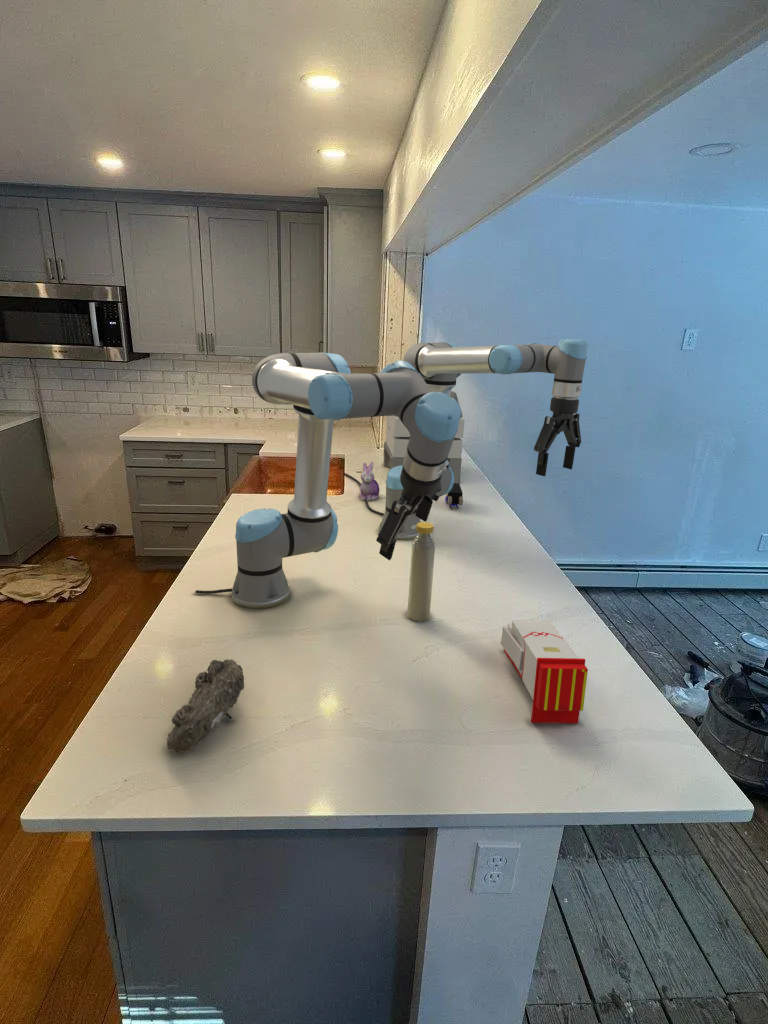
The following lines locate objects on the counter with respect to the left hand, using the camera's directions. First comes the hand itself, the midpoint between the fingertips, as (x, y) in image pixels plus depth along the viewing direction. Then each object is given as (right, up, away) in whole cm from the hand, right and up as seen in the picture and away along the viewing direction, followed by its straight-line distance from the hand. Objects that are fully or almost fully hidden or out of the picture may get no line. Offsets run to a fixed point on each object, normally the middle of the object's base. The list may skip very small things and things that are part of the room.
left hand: (403, 536), depth 121 cm
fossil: (-37, -34, -13) cm, 52 cm away
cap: (+6, +2, +17) cm, 18 cm away
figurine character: (+24, +8, +111) cm, 114 cm away
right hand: (+45, +17, +43) cm, 64 cm away
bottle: (+5, -22, +26) cm, 34 cm away
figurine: (-10, +11, +115) cm, 116 cm away
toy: (+29, -32, +2) cm, 43 cm away
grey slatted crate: (+13, +24, +154) cm, 156 cm away
